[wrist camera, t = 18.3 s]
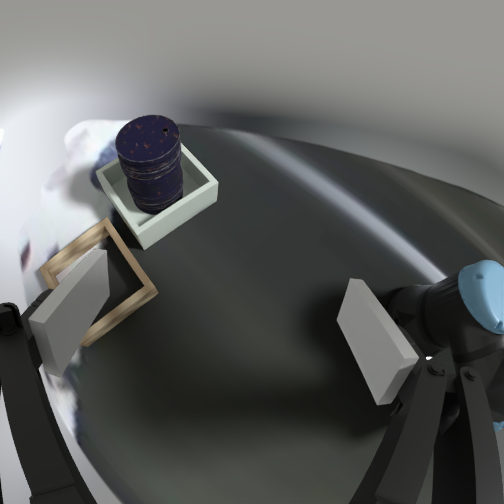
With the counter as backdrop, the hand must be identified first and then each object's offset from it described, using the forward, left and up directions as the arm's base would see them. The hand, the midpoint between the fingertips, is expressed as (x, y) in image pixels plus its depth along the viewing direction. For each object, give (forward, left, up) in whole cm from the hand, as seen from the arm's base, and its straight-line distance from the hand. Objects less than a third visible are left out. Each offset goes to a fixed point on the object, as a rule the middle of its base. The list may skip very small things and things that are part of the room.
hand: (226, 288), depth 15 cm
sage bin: (-8, -27, -33) cm, 43 cm away
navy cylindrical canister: (-8, -27, -32) cm, 43 cm away
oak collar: (+10, -19, -33) cm, 39 cm away
